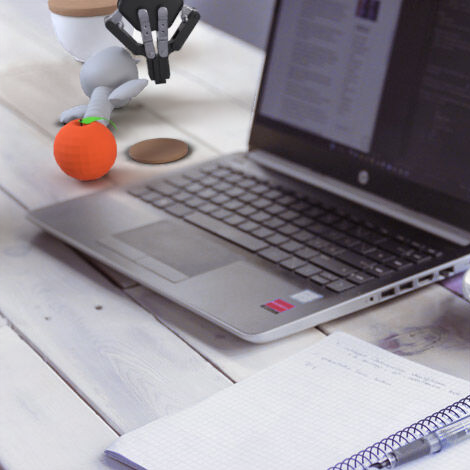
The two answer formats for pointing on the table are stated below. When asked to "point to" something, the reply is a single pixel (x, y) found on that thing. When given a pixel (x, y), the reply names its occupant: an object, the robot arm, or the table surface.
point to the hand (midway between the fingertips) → (159, 82)
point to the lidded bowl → (84, 26)
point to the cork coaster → (158, 150)
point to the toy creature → (107, 84)
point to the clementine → (85, 149)
